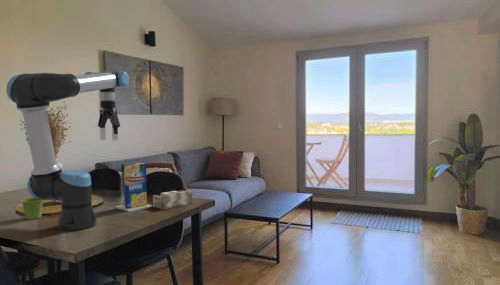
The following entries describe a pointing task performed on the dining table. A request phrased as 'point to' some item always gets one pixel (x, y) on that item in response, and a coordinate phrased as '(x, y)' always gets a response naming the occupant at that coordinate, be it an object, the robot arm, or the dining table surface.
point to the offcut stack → (168, 193)
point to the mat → (133, 208)
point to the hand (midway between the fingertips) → (109, 140)
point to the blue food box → (134, 185)
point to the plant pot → (32, 208)
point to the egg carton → (172, 200)
